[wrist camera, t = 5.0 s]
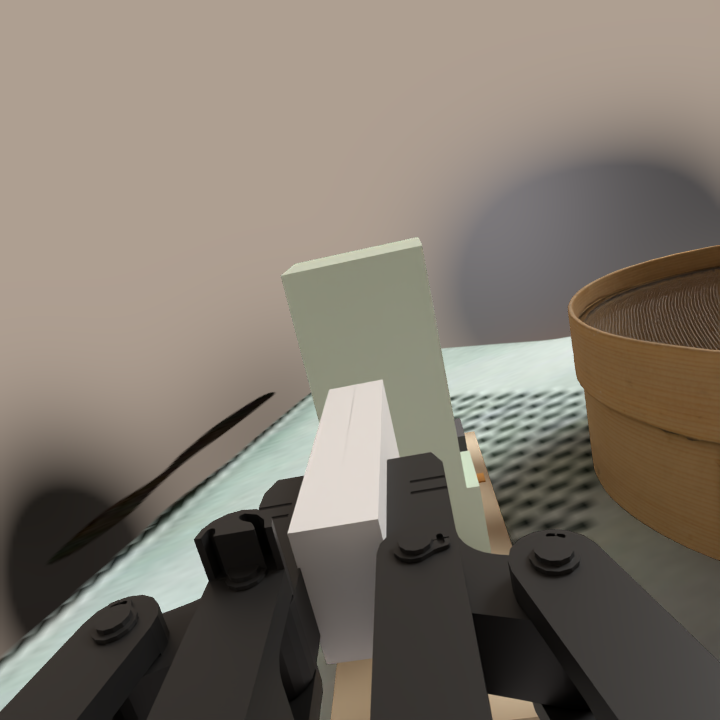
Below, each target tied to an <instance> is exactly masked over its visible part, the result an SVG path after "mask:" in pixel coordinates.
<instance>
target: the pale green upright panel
mask: <svg viewBox="0 0 720 720" xmlns="http://www.w3.org/2000/svg"><path fill="white" fill-rule="evenodd" d="M281 278H282V283H283V286H284V290H285V294H286V298H287V302H288V305H289V309H290V313H291V317H292V321H293V325H294V328H295V332H296V336H297V339H298V344H299V347H300V351H301V355H302V359H303V363H304V366H305V370H306V374H307V378H308V382H309V385H310V389H311V393H312V397H313V401H314V405H315V408H316V412H317V416H318V420H319V423H320V420H321V416H322V413H323V409H324V406H325V402H326V399H327V395H328V392H329V390H330V389H335V388H340V387H346V386H351V385H356V384H361V383H367V382H372V381H377V380H382V379H383V384H384V388H385V393H386V397H387V402H388V406H389V411H390V415H391V420H392V425H393V429H394V434H395V438H396V443H397V447H398V452H399V456H400V457H405V456H411V455H417V454H422V453H428V452H432V453H433V454H434V455H435V456H436V457H438V458H439V459H440V460H441V461H442V462H443V466H444V471H445V477H446V482H447V487H448V492H449V497H450V502H451V507H452V512H453V517H454V522H455V528H456V532H457V534H458V536H459V538H460V539H461V540H462V541H463V542H464V543H465V544H467V545H468V546H470V547H472V548H473V549H476V550H479V551H482V552H486V553H491V548H490V542H489V537H488V531H487V525H486V520H485V514H484V508H483V503H482V497H481V491H480V486H479V482H478V479H477V475H476V472H475V469H474V465H473V462H472V458H471V455H470V451H463V452H460V449H459V444H458V438H457V433H456V427H455V422H454V416H453V411H452V406H451V400H450V395H449V389H448V384H447V378H446V373H445V368H444V362H443V357H442V351H441V346H440V340H439V335H438V330H437V324H436V319H435V314H434V308H433V302H432V297H431V292H430V286H429V281H428V275H427V270H426V264H425V259H424V254H423V248H422V244H421V242H420V240H419V238H418V237H417V238H412V239H407V240H403V241H398V242H394V243H389V244H384V245H380V246H376V247H370V248H366V249H361V250H357V251H352V252H347V253H343V254H338V255H334V256H329V257H324V258H320V259H315V260H311V261H306V262H302V263H297V264H294V265H293V266H292V267H291V268H290V269H288V270H287V271H286V272H285V273H284V274H282V275H281Z"/></svg>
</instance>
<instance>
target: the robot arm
mask: <svg viewBox="0 0 720 720" xmlns="http://www.w3.org/2000/svg"><path fill="white" fill-rule="evenodd" d="M194 541H195V544H196V547H197V550H198V552H199V555H200V558H201V561H202V564H203V566H204V569H205V572H206V575H207V577H208V580H209V582H208V584H207V586H206V588H205V591H204V593H203V595H202V597H201V598H200V599H198V600H196V601H194V602H192V603H189V604H186V605H184V606H181V607H178V608H176V609H173V610H171V611H168V612H165V613H163V614H162V612H161V609H160V607H159V604H158V603H157V602H156V601H155V599H154V598H153V597H149V596H145V595H138V596H130V597H127V598H123V599H121V600H117V601H115V602H113V603H111V604H109V605H108V606H106V607H105V608H103V609H101V610H100V611H98V612H97V613H95V614H94V615H93V616H92V617H91V618H90V619H88V620H87V621H86V622H85V623H84V624H83V625H82V626H81V627H80V628H79V629H78V630H77V631H76V632H75V633H74V634H73V635H72V637H71V638H70V639H69V640H68V641H67V642H66V643H65V644H64V645H63V646H62V647H61V648H60V649H59V650H58V651H57V652H56V653H55V655H54V656H53V657H52V658H51V659H50V660H49V661H48V662H47V663H46V664H45V665H44V666H43V667H42V668H41V669H40V670H39V671H38V672H37V674H36V675H35V676H34V677H33V678H32V679H31V680H30V681H29V682H28V683H27V684H26V685H25V686H24V687H23V688H22V689H21V690H20V692H19V693H18V694H17V695H16V696H15V697H14V698H13V699H12V700H11V701H10V702H9V703H8V704H7V705H6V706H5V707H4V708H3V709H2V711H1V712H0V720H319V717H320V709H321V701H322V693H323V689H322V680H321V676H320V673H319V670H318V667H317V663H316V662H317V656H318V649H319V642H320V644H321V647H322V651H323V654H324V657H325V661H326V664H334V663H342V662H349V661H357V660H364V659H372V683H371V709H370V720H493V719H492V713H491V708H490V702H489V697H488V694H491V695H496V696H502V697H507V698H512V699H518V700H523V701H529V702H532V703H533V706H534V709H535V712H536V714H537V715H538V717H539V719H540V720H720V662H719V661H718V660H717V659H716V658H715V657H714V656H713V655H712V654H711V653H710V652H708V651H707V650H706V649H705V648H704V647H703V646H702V645H701V644H700V643H699V642H698V641H697V640H696V639H695V638H694V637H693V636H692V635H691V634H690V633H689V632H688V631H687V630H686V629H685V628H684V627H683V626H681V625H680V624H679V623H678V622H677V621H676V620H675V619H674V618H673V617H672V616H671V615H670V614H669V613H668V612H667V611H666V610H665V609H664V608H663V607H662V606H661V605H660V604H659V603H658V602H657V601H656V600H654V599H653V598H652V597H651V596H650V595H649V594H648V593H647V592H646V591H645V590H644V589H643V588H642V587H641V586H640V585H639V584H638V583H637V582H636V581H635V580H634V579H633V578H632V577H631V576H630V575H629V574H627V573H626V572H625V571H624V570H623V569H622V568H621V567H620V566H619V565H618V564H617V563H616V562H615V561H614V560H613V559H612V558H611V557H610V556H609V555H608V554H607V553H606V552H605V551H604V550H603V549H602V548H600V547H599V546H598V545H597V544H596V543H595V542H593V541H592V540H590V539H588V538H587V537H585V536H584V535H581V534H577V533H574V532H571V531H568V530H551V529H549V530H543V531H538V532H533V533H531V534H529V535H526V536H524V537H522V538H520V539H519V540H518V541H517V542H516V543H515V544H514V545H513V546H512V547H511V548H510V552H509V555H500V554H492V553H486V552H482V551H479V550H476V549H473V548H472V547H470V546H468V545H467V544H465V543H464V542H463V541H462V540H461V539H460V538H459V536H458V534H457V532H456V528H455V522H454V517H453V512H452V507H451V502H450V497H449V492H448V487H447V482H446V477H445V471H444V466H443V462H442V461H441V460H440V459H439V458H438V457H436V456H435V455H434V454H433V453H432V452H428V453H422V454H417V455H411V456H405V457H400V456H399V452H398V447H397V443H396V438H395V434H394V429H393V425H392V420H391V415H390V411H389V406H388V402H387V397H386V393H385V388H384V384H383V379H382V380H377V381H372V382H367V383H361V384H356V385H351V386H346V387H340V388H335V389H330V390H329V392H328V395H327V399H326V402H325V406H324V409H323V413H322V416H321V420H320V423H319V426H318V430H317V433H316V437H315V440H314V444H313V447H312V451H311V454H310V457H309V461H308V464H307V468H306V471H305V475H304V476H300V477H294V478H288V479H283V480H278V481H277V482H276V483H275V484H274V485H273V486H272V487H271V488H270V489H269V490H268V491H267V492H266V493H265V494H264V497H263V499H262V502H261V504H260V507H259V510H257V509H253V510H241V511H237V512H234V513H230V514H227V515H225V516H223V517H221V518H219V519H217V520H215V521H213V522H212V523H210V524H209V525H207V526H206V527H205V528H203V529H202V530H201V531H200V533H199V534H198V535H197V536H196V537H195V539H194Z"/></svg>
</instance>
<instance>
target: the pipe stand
mask: <svg viewBox="0 0 720 720" xmlns="http://www.w3.org/2000/svg"><path fill="white" fill-rule="evenodd" d="M464 434H465V439H466V444H467V450H468V451H470V455H471V458H472V462H473V465H474V469H475V472H476V475H477V479H478V482H479V486H480V491H481V497H482V503H483V508H484V514H485V520H486V525H487V531H488V537H489V542H490V548H491V553H492V554H500V555H509V552H510V548H511V547H512V544H511V541H510V538H509V535H508V532H507V529H506V526H505V523H504V520H503V517H502V514H501V511H500V508H499V505H498V502H497V499H496V496H495V493H494V490H493V487H492V484H491V481H490V478H489V475H488V472H487V469H486V466H485V463H484V460H483V457H482V454H481V451H480V448H479V445H478V442H477V439H476V436H475V433H474V432H468V433H464ZM371 683H372V659H364V660H357V661H349V662H342V663H337V668H336V677H335V685H334V694H333V703H332V712H331V720H370V709H371ZM488 697H489V702H490V708H491V713H492V719H493V720H540V719H539V717H538V715H537V714H536V712H535V709H534V706H533V703H532V702H529V701H523V700H518V699H512V698H507V697H502V696H496V695H491V694H488Z"/></svg>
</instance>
